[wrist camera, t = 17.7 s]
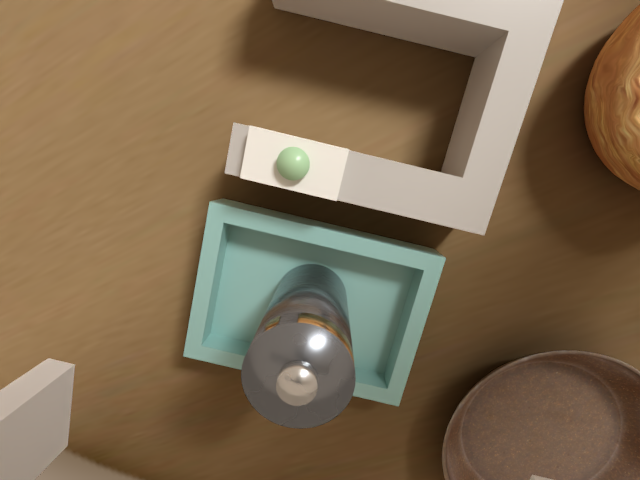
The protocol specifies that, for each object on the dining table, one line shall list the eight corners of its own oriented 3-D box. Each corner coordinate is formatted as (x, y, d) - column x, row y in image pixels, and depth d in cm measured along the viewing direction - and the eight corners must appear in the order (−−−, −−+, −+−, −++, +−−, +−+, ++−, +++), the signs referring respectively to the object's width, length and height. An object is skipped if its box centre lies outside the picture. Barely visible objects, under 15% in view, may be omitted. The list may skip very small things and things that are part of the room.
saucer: (394, 459, 26) (401, 492, 24) (506, 295, 24) (528, 311, 21) (560, 541, 27) (585, 581, 25) (687, 391, 24) (730, 419, 22)
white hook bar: (283, -42, 20) (267, -114, 15) (523, 17, 20) (587, -34, 15) (243, 172, 22) (217, 173, 17) (457, 223, 22) (493, 239, 17)
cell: (283, 256, 22) (249, 319, 13) (354, 272, 22) (370, 347, 13) (270, 322, 23) (227, 425, 14) (337, 337, 23) (341, 450, 14)
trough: (222, 198, 23) (209, 201, 20) (433, 248, 23) (446, 257, 20) (197, 337, 25) (183, 356, 22) (392, 383, 25) (398, 406, 22)
